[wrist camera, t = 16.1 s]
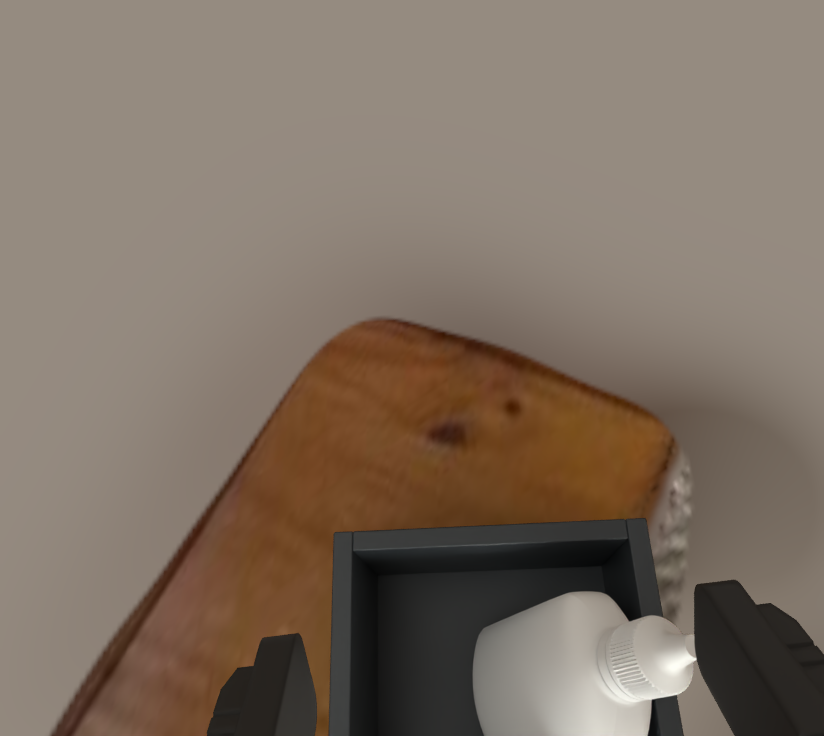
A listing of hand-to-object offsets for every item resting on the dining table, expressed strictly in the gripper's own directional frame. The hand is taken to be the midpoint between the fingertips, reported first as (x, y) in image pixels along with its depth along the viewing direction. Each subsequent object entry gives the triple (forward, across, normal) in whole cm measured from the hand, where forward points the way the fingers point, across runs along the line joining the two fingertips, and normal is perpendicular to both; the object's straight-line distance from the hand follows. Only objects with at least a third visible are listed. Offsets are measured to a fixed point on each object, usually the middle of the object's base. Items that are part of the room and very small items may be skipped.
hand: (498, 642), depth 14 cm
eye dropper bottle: (+12, 0, +14) cm, 19 cm away
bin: (+14, 0, +15) cm, 20 cm away
